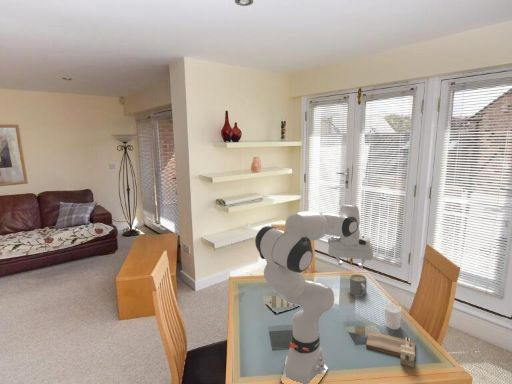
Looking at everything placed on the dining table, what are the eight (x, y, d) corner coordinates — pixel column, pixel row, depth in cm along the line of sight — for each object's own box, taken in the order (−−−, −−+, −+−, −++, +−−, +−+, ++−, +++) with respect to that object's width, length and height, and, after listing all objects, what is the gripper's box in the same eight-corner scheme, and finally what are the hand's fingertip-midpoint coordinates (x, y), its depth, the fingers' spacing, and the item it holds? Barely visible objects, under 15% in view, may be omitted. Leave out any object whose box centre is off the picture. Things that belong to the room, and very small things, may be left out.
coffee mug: (348, 288, 192) (348, 274, 191) (364, 288, 191) (363, 274, 190) (353, 298, 179) (353, 283, 178) (370, 298, 178) (370, 283, 177)
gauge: (413, 369, 120) (414, 356, 119) (400, 365, 122) (400, 352, 122) (413, 346, 134) (413, 334, 133) (401, 343, 136) (401, 331, 135)
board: (415, 360, 125) (415, 356, 125) (366, 348, 135) (366, 344, 134) (414, 345, 135) (414, 341, 134) (369, 334, 144) (369, 330, 144)
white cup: (391, 332, 145) (391, 313, 144) (381, 323, 153) (381, 305, 151) (404, 328, 147) (404, 310, 146) (393, 320, 155) (393, 303, 153)
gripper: (326, 238, 138) (327, 266, 140) (372, 242, 128) (372, 271, 130) (329, 234, 143) (330, 261, 145) (373, 238, 134) (373, 266, 136)
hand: (350, 266), depth 138 cm, fingers open, 8 cm apart
